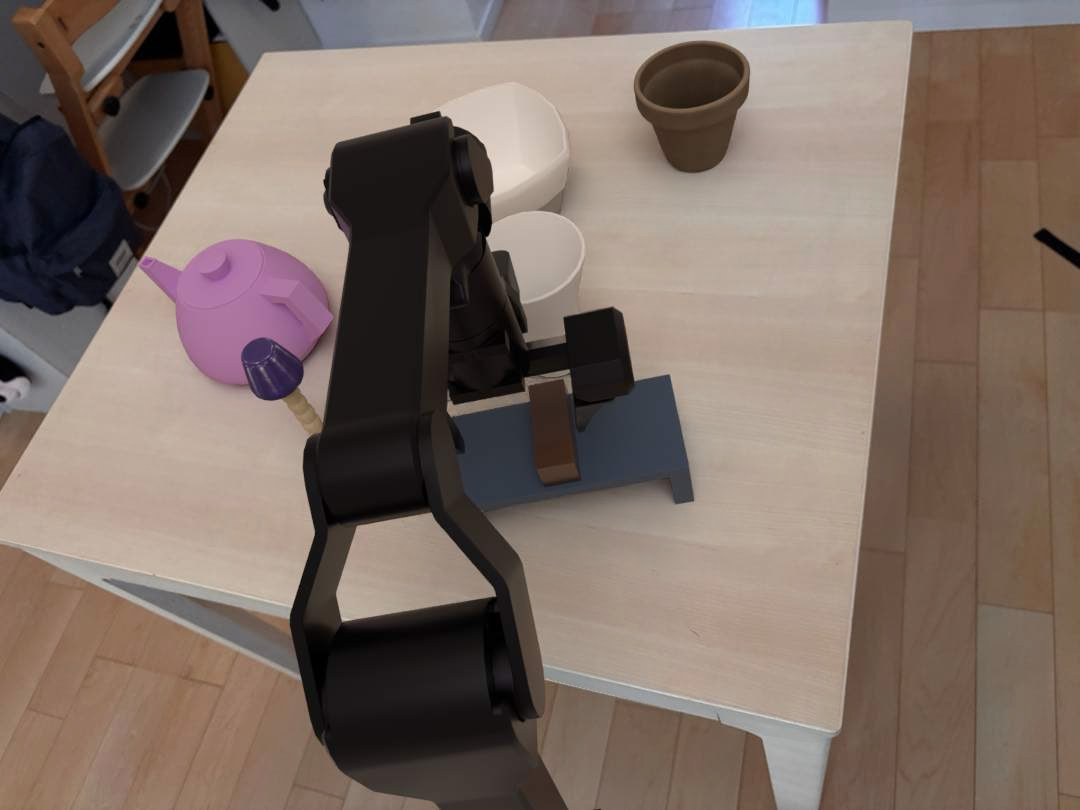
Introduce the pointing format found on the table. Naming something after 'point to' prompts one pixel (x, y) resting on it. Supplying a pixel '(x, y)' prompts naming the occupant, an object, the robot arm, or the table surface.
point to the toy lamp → (278, 379)
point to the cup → (543, 268)
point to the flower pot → (693, 100)
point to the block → (553, 433)
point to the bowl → (517, 145)
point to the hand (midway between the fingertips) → (521, 437)
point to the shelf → (603, 449)
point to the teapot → (241, 304)
